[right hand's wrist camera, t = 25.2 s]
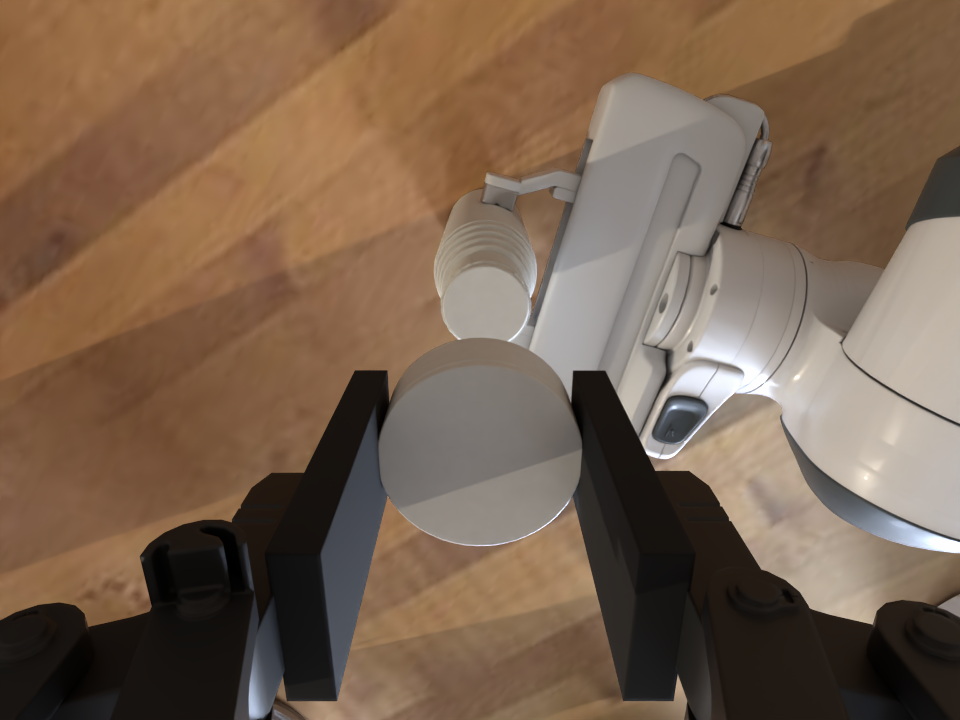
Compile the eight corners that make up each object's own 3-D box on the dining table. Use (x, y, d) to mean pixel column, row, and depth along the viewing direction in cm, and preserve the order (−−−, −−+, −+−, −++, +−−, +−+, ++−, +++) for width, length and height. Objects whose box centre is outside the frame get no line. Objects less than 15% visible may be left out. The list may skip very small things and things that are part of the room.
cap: (595, 469, 15) (609, 511, 14) (430, 523, 16) (424, 569, 14) (537, 309, 14) (545, 335, 12) (357, 374, 14) (341, 407, 13)
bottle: (482, 277, 41) (481, 389, 24) (432, 223, 40) (396, 303, 23) (536, 228, 40) (575, 312, 23) (487, 172, 38) (490, 217, 22)
